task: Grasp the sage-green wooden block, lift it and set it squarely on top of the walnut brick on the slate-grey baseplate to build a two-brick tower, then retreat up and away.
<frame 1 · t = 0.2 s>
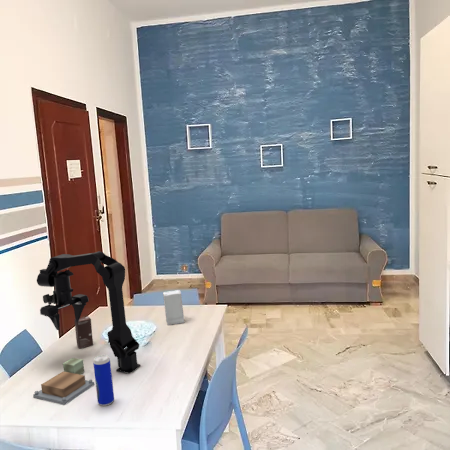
hand: (67, 325, 181), 14 cm above the table, fingers open, 9 cm apart
beverage can: (106, 402, 148), on the table
baseplate: (64, 390, 158), on the table
base brick: (63, 384, 157), point 2 cm above the table
block: (74, 374, 170), on the table
box: (85, 346, 196), on the table
skincare box: (174, 322, 217), on the table
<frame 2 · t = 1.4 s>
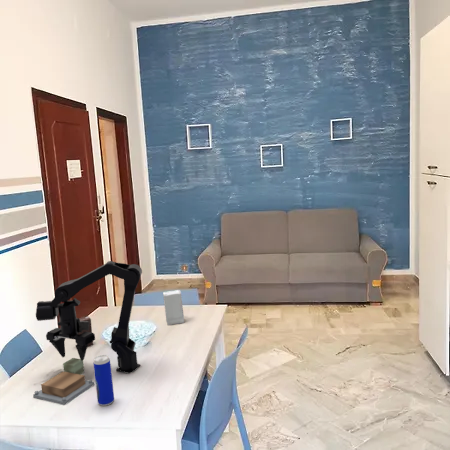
hand: (73, 358, 169), 6 cm above the table, fingers open, 9 cm apart
nothing on the table moved.
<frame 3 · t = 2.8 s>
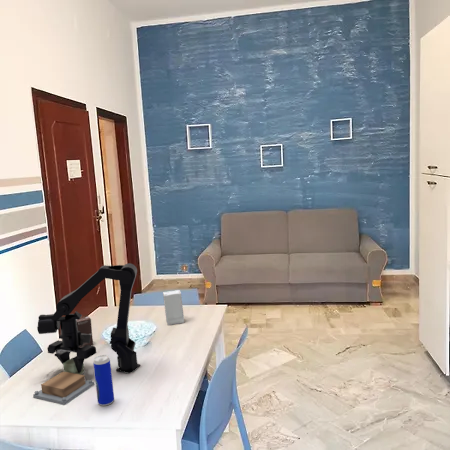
hand: (74, 371, 170), 1 cm above the table, fingers closed on block, 5 cm apart
block: (74, 374, 170), on the table, touching gripper
everything else where it was.
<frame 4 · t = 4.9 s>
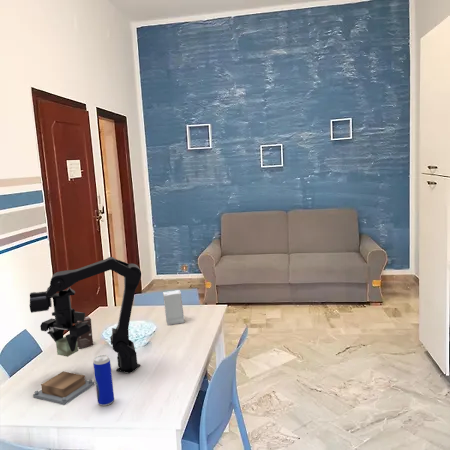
hand: (67, 350, 164), 11 cm above the table, fingers closed on block, 5 cm apart
block: (67, 352, 165), point 10 cm above the table, touching gripper
everything else where it was.
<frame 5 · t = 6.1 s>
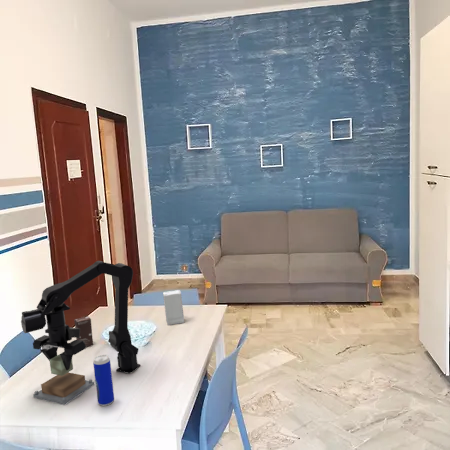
hand: (62, 368, 157), 8 cm above the table, fingers closed on block, 5 cm apart
block: (62, 371, 157), point 7 cm above the table, touching gripper
everything else where it was.
when the fingers open (6 cm above the table, at t = 7.0 s): block stays where it is, resting on base brick.
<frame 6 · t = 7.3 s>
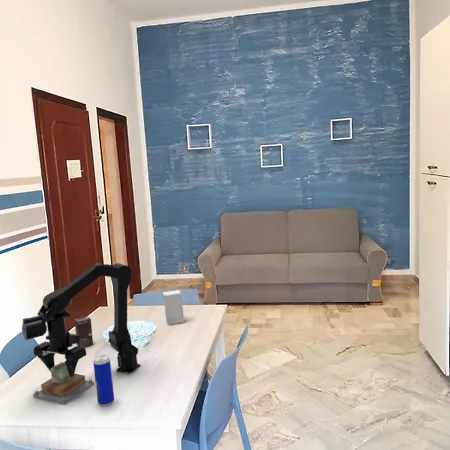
hand: (62, 374, 157), 6 cm above the table, fingers open, 8 cm apart
block: (63, 379, 157), point 4 cm above the table, touching base brick
everything else where it was.
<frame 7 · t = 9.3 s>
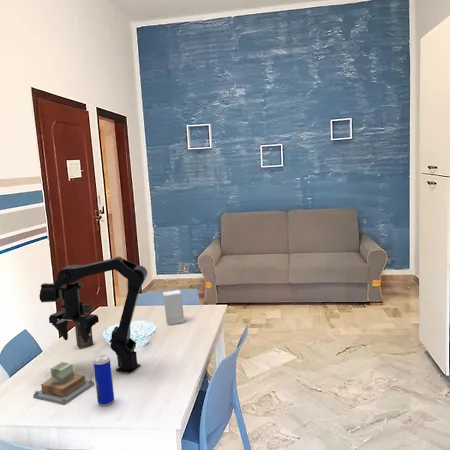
hand: (76, 341, 170), 12 cm above the table, fingers open, 9 cm apart
nothing on the table moved.
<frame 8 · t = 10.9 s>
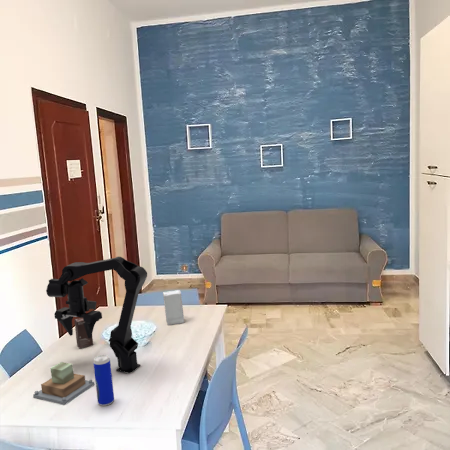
hand: (80, 336, 174), 12 cm above the table, fingers open, 9 cm apart
nothing on the table moved.
at the end: block 0.0 cm from the base brick (horizontally); block point 4.0 cm above the table; block tilted 0° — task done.
